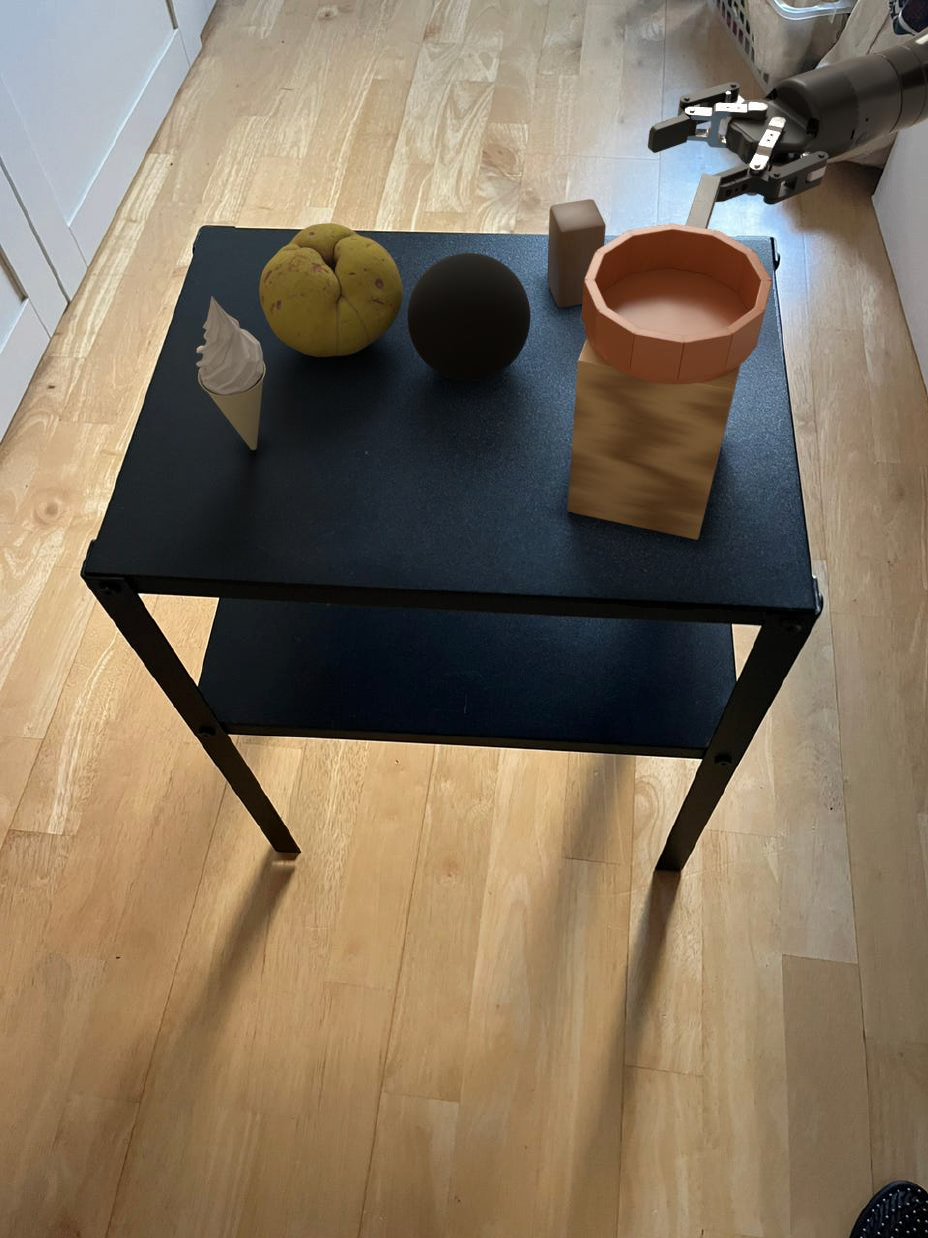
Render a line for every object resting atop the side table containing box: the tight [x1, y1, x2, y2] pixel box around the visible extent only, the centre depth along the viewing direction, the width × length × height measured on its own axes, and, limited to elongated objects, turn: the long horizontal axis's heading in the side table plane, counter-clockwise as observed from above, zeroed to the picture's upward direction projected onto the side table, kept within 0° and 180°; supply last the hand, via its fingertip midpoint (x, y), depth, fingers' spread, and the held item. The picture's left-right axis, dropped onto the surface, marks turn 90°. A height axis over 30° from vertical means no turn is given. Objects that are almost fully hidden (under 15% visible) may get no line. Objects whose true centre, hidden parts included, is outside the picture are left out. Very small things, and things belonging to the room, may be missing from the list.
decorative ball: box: [407, 252, 532, 382], centre depth 85 cm, size 10×10×10 cm
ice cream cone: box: [196, 295, 266, 451], centre depth 78 cm, size 5×5×15 cm
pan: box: [581, 173, 773, 384], centre depth 69 cm, size 18×11×4 cm, turn 162°
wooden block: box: [546, 198, 607, 309], centre depth 90 cm, size 4×4×8 cm
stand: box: [566, 337, 742, 541], centre depth 75 cm, size 10×10×15 cm
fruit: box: [258, 222, 404, 358], centre depth 87 cm, size 11×12×10 cm
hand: (678, 165), depth 88 cm, fingers open, 8 cm apart
